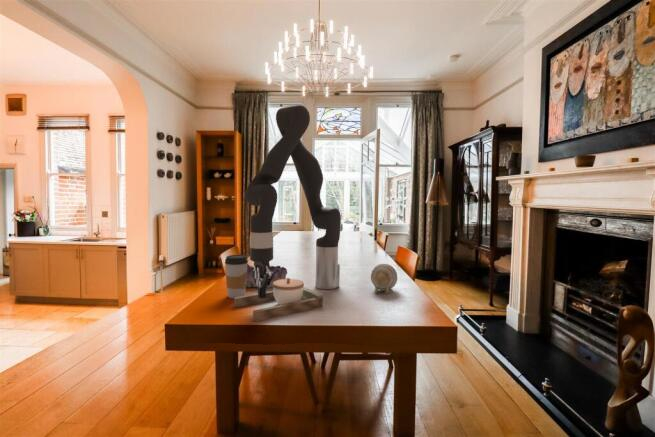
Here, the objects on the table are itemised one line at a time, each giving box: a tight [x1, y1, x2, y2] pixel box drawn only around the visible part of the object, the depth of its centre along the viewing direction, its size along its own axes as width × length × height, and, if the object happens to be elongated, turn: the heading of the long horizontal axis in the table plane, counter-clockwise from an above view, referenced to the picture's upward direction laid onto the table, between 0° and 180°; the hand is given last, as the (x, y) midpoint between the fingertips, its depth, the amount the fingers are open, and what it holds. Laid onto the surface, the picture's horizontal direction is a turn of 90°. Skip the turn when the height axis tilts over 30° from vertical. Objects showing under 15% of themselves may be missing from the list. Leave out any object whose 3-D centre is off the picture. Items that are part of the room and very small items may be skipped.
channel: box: [233, 286, 324, 322], centre depth 113 cm, size 25×17×4 cm
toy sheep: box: [370, 263, 398, 295], centre depth 134 cm, size 11×17×11 cm, turn 165°
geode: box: [246, 263, 288, 289], centre depth 139 cm, size 20×12×10 cm, turn 101°
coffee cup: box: [224, 254, 249, 299], centre depth 123 cm, size 8×8×15 cm
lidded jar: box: [272, 277, 305, 305], centre depth 115 cm, size 11×11×9 cm
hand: (261, 297), depth 109 cm, fingers closed
